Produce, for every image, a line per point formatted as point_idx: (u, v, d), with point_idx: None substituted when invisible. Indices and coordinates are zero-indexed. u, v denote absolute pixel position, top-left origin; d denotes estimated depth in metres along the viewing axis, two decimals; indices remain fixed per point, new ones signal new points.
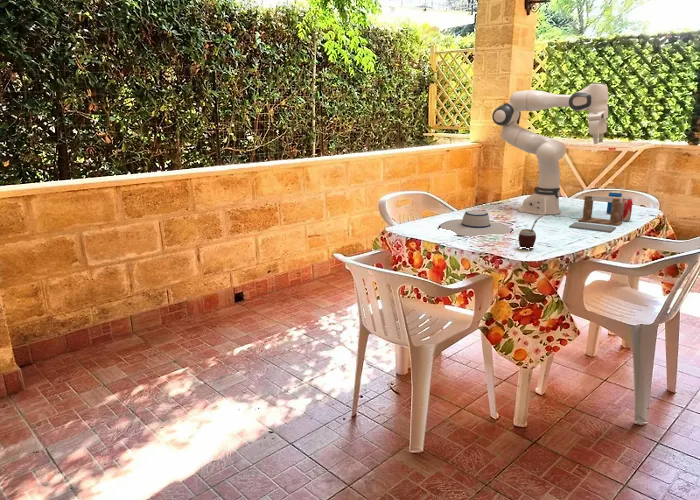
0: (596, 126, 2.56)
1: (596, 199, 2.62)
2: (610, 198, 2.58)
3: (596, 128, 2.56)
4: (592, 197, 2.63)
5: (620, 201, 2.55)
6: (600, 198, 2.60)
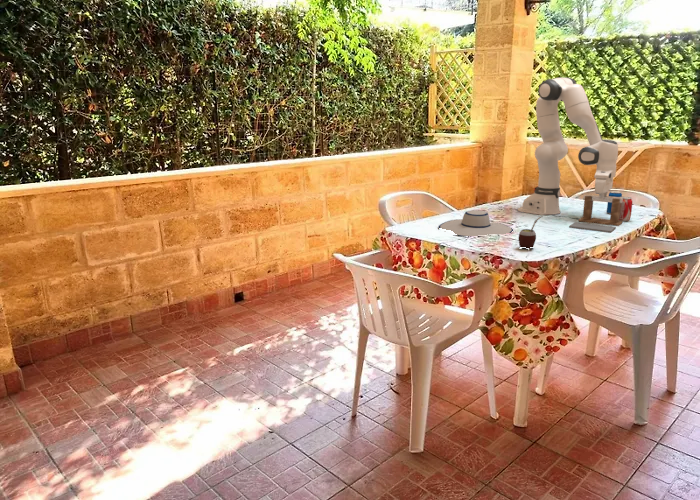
0: (602, 186, 2.51)
1: (596, 199, 2.62)
2: (610, 198, 2.58)
3: (602, 188, 2.51)
4: (592, 197, 2.63)
5: (620, 201, 2.55)
6: None
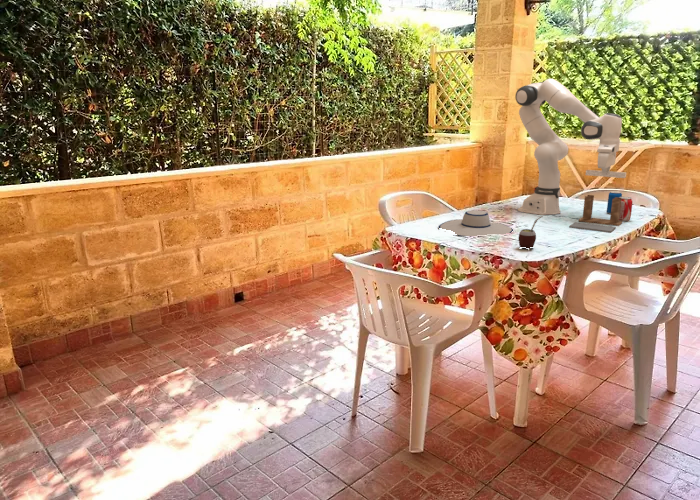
0: (605, 160, 2.47)
1: (599, 174, 2.58)
2: (613, 173, 2.54)
3: (605, 162, 2.48)
4: (595, 172, 2.59)
5: (623, 176, 2.52)
6: None
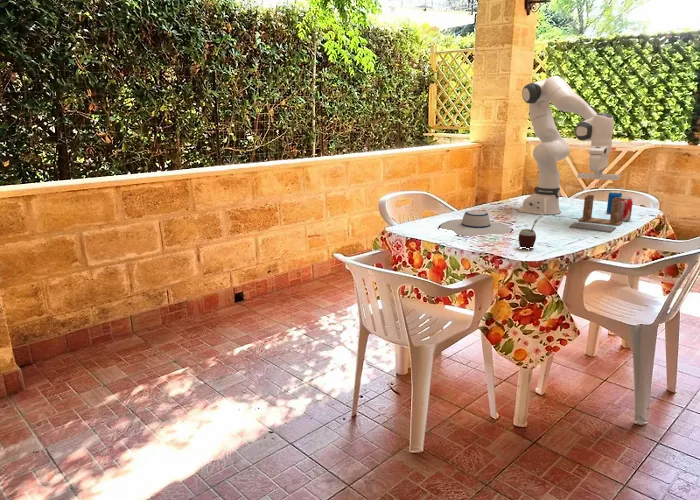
0: (597, 162, 2.36)
1: (591, 177, 2.47)
2: (606, 175, 2.43)
3: (597, 164, 2.36)
4: (587, 175, 2.48)
5: (616, 178, 2.40)
6: None
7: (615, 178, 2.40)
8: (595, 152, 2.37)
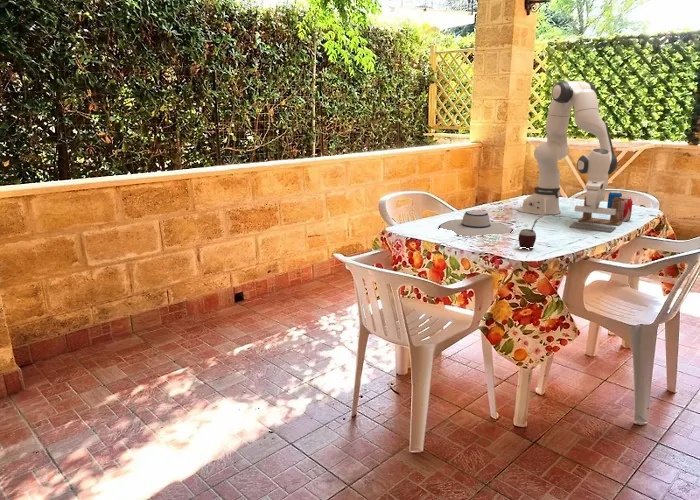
0: (594, 197, 2.40)
1: (588, 210, 2.51)
2: (602, 210, 2.47)
3: (594, 199, 2.41)
4: (584, 208, 2.52)
5: (613, 213, 2.45)
6: None
7: (611, 212, 2.45)
8: (592, 187, 2.41)
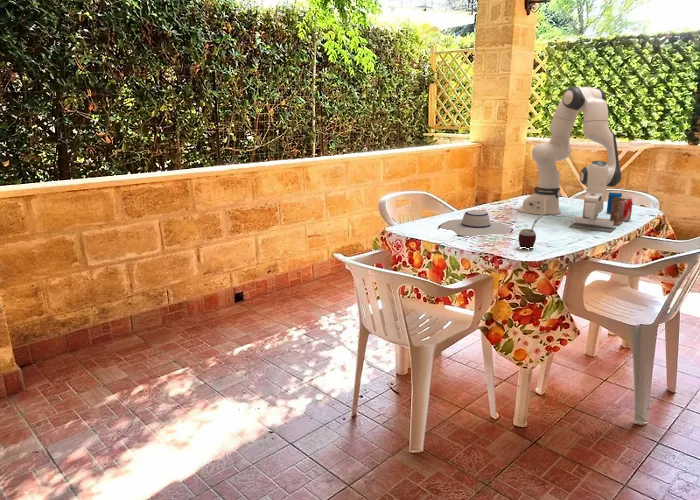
0: (592, 209, 2.42)
1: (586, 222, 2.53)
2: (600, 221, 2.49)
3: (592, 211, 2.42)
4: (582, 220, 2.54)
5: (611, 224, 2.46)
6: None
7: (609, 224, 2.47)
8: (590, 200, 2.43)
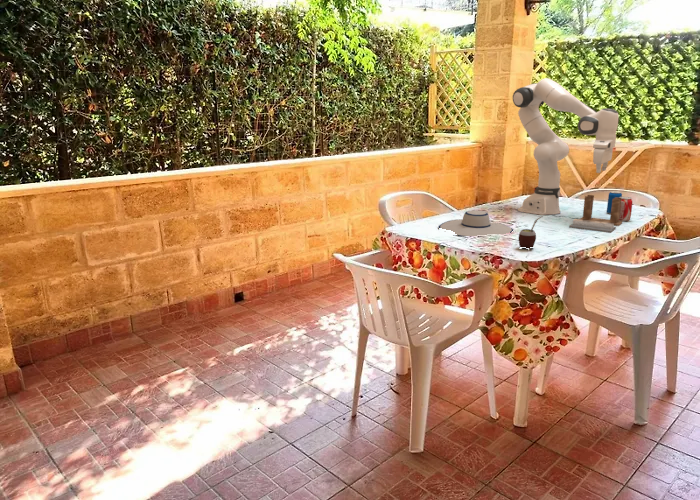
0: (601, 155, 2.45)
1: (586, 224, 2.53)
2: (600, 224, 2.49)
3: (601, 158, 2.45)
4: (582, 222, 2.54)
5: (610, 227, 2.47)
6: (590, 223, 2.52)
7: (609, 227, 2.47)
8: (599, 146, 2.45)
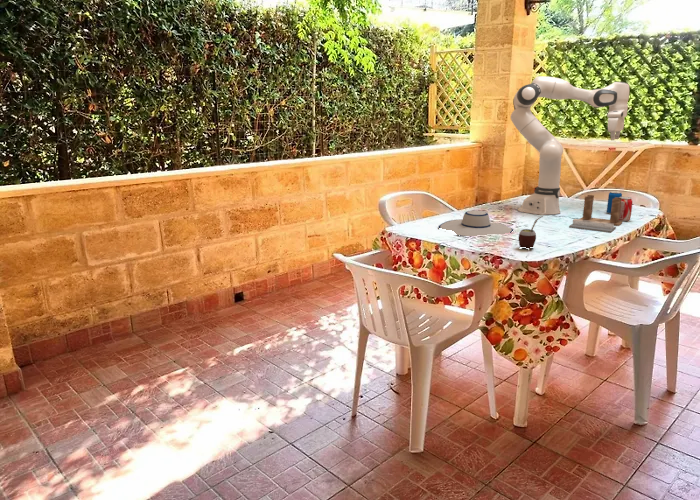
0: (615, 124, 2.70)
1: (586, 224, 2.53)
2: (600, 224, 2.49)
3: (615, 125, 2.70)
4: (582, 222, 2.54)
5: (610, 227, 2.47)
6: (590, 223, 2.52)
7: (609, 227, 2.47)
8: (613, 115, 2.70)
